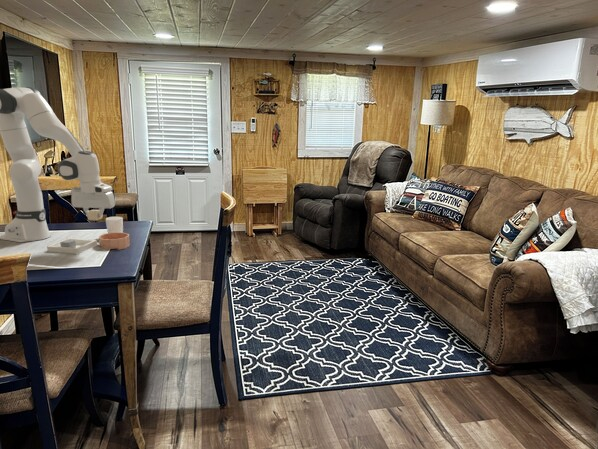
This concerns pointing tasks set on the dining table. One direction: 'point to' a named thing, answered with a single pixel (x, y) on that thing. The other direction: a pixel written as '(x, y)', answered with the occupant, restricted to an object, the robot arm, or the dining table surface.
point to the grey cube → (68, 243)
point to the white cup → (114, 224)
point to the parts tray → (80, 247)
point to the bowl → (114, 240)
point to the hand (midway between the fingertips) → (94, 216)
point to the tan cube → (93, 215)
